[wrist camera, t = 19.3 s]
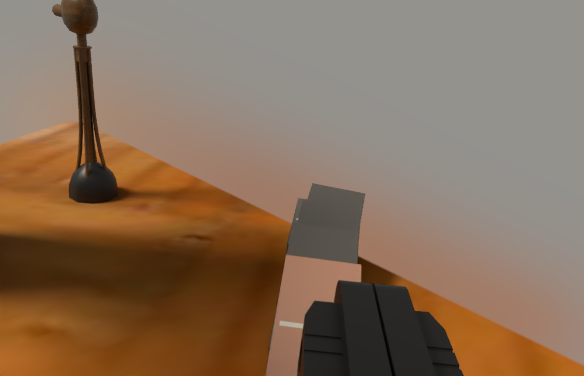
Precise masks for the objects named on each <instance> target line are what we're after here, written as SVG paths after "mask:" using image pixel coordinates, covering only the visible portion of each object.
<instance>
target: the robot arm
mask: <svg viewBox="0 0 584 376" xmlns="http://www.w3.org/2000/svg"><path fill="white" fill-rule="evenodd" d="M452 350H453V348H452V346H451V344H450V341H449V339H448V336H447V334H446V331H445V329H444V328H443V327H442V326H441V325H440V324H439V323H438V322H437V321H436V320H435V318H434V317H433V316H432V315H431V314H430V313H429V312H421V311H415V310H414V307H413V304H412V301H411V298H410V295H409V292H408V290H407V288H406V287H402V286H393V285H383V284H371V283H363V282H353V281H344V280H338V282H337V286H336V291H335V297H334V302H324V301H315V300H314V302H313V303H312V305H311V306H310V308H309V309H308V311H307V313H306V314H305V317H304V324H303V331H302V338H301V345H300V352H299V360H298V367H297V376H463V373H462V371H461V370H460V369H459V363H458V361H457V358H456V356H455V353H453V351H452Z"/></svg>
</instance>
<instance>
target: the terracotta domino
mask: <svg viewBox="0 0 584 376" xmlns="http://www.w3.org/2000/svg"><path fill="white" fill-rule="evenodd" d="M338 280H344V281H353V282H361V265H360V264H353V263H345V262H338V261H330V260H322V259H315V258H307V257H300V256H292V255H286V258H285V264H284V270H283V276H282V281H281V287H280V293H279V299H278V305H277V311H276V317H275V323H274V328H273V334H272V340H271V346H270V352H269V358H268V364H267V370H266V375H265V376H297V367H298V360H299V352H300V345H301V338H302V331H303V324H304V317H305V314H306V313H307V311H308V309H309V308H310V306H311V305H312V303H313V302H314V300H315V301H324V302H334V297H335V291H336V286H337V282H338Z"/></svg>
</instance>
